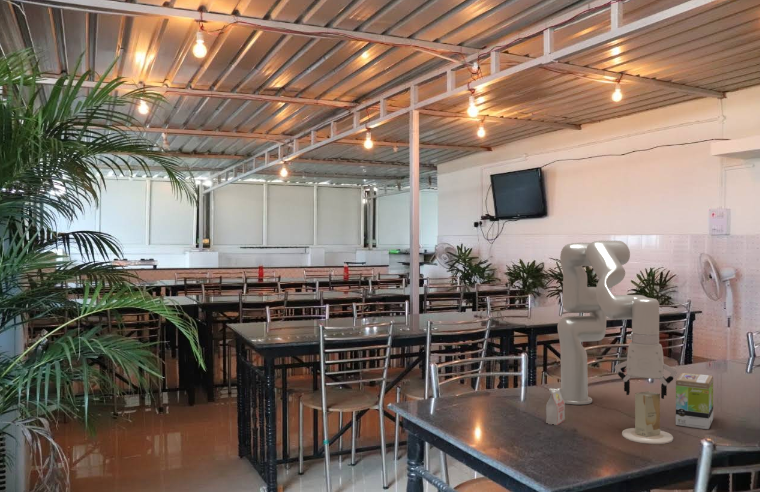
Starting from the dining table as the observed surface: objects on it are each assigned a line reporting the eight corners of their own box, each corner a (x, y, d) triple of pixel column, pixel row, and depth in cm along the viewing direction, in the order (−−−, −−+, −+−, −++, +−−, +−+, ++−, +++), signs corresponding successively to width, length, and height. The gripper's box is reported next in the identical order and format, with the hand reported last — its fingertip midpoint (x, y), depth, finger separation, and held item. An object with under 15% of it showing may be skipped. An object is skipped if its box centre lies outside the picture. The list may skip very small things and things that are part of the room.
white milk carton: (546, 423, 203) (545, 392, 203) (554, 419, 209) (553, 388, 209) (557, 425, 201) (556, 394, 201) (564, 420, 206) (564, 390, 206)
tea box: (710, 430, 194) (709, 382, 194) (674, 425, 199) (674, 379, 199) (714, 419, 207) (713, 374, 207) (680, 415, 212) (679, 371, 212)
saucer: (620, 440, 184) (619, 437, 184) (624, 428, 196) (624, 425, 196) (672, 446, 178) (672, 443, 178) (673, 433, 190) (673, 430, 190)
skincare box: (647, 437, 184) (646, 395, 184) (634, 433, 187) (633, 393, 188) (661, 434, 187) (660, 393, 187) (648, 430, 191) (648, 390, 191)
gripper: (613, 339, 188) (613, 395, 188) (677, 343, 180) (676, 402, 181) (616, 335, 195) (615, 390, 195) (677, 339, 187) (677, 396, 187)
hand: (645, 395), depth 188 cm, fingers open, 9 cm apart
